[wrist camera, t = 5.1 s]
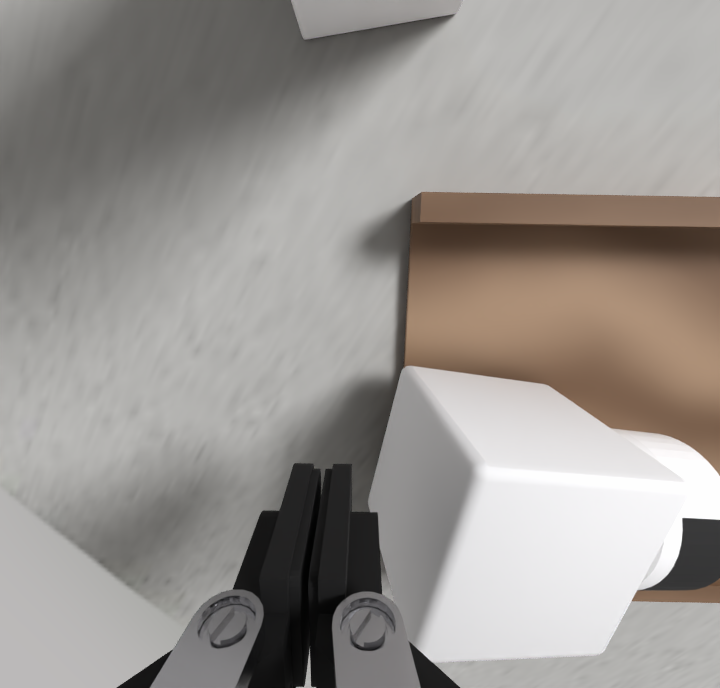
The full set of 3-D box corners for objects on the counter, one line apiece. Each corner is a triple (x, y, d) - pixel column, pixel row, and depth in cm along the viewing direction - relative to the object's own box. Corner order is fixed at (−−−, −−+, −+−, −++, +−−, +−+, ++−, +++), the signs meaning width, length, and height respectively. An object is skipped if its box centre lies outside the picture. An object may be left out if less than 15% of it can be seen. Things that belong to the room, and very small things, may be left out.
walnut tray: (761, 556, 21) (821, 604, 19) (394, 549, 21) (399, 596, 19) (888, 207, 17) (994, 201, 14) (411, 198, 17) (421, 192, 14)
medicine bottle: (364, 502, 18) (580, 513, 21) (408, 670, 12) (714, 655, 14) (401, 361, 16) (634, 394, 19) (478, 468, 10) (819, 494, 12)
